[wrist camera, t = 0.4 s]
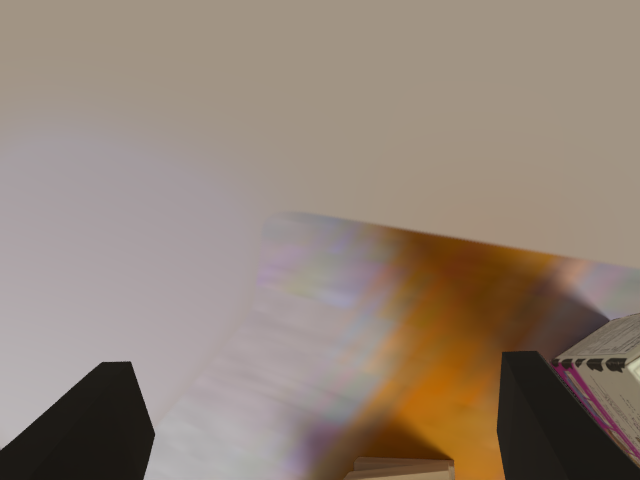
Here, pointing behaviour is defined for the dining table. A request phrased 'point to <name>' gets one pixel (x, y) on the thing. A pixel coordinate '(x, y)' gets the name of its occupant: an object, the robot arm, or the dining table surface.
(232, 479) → the dining table surface
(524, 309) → the dining table surface
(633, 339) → the candy bar box
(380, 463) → the slab lower
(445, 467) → the slab upper
